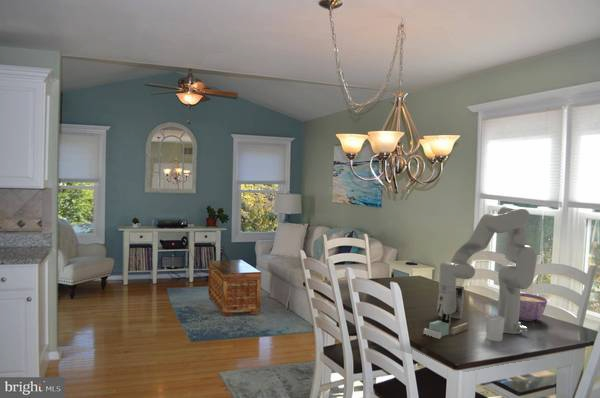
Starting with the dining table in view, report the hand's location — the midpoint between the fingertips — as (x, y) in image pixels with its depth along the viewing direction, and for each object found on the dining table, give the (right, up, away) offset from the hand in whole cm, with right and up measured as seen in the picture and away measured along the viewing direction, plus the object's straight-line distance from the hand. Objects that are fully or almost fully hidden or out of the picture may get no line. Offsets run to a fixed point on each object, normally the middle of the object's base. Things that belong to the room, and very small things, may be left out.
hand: (445, 327), depth 236 cm
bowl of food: (+51, -3, +29) cm, 58 cm away
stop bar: (-8, -2, -8) cm, 11 cm away
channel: (+4, -2, +4) cm, 6 cm away
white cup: (+20, -4, -8) cm, 22 cm away
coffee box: (+12, -2, +27) cm, 30 cm away
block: (-4, -2, -4) cm, 6 cm away
